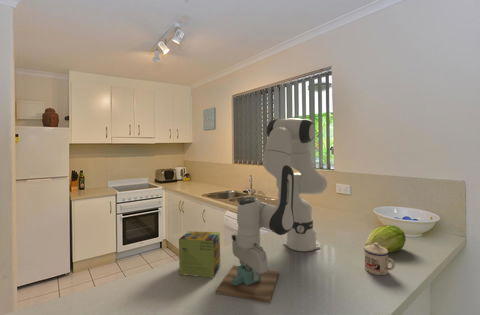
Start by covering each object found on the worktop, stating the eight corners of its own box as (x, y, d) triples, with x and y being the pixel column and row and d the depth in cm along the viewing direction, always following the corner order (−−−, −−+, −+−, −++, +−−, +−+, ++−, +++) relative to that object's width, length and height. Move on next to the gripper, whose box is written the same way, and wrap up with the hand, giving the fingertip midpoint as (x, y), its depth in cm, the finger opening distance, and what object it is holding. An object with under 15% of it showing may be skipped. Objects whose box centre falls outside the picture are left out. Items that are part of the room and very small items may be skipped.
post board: (233, 267, 110) (233, 251, 110) (279, 274, 104) (278, 257, 104) (215, 293, 91) (215, 274, 91) (270, 302, 85) (269, 282, 85)
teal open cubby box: (250, 273, 102) (250, 262, 102) (261, 280, 97) (260, 268, 97) (229, 281, 96) (229, 269, 96) (238, 288, 91) (238, 276, 91)
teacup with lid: (359, 268, 107) (359, 242, 107) (372, 263, 112) (372, 237, 112) (388, 281, 97) (388, 251, 97) (400, 275, 102) (400, 246, 101)
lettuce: (352, 236, 129) (370, 229, 118) (382, 226, 137) (401, 218, 126) (365, 262, 124) (385, 257, 113) (396, 250, 132) (417, 244, 121)
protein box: (214, 278, 102) (213, 240, 101) (179, 275, 105) (178, 238, 104) (221, 266, 112) (220, 232, 112) (188, 263, 115) (187, 230, 114)
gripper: (271, 247, 90) (272, 284, 90) (242, 231, 107) (242, 262, 108) (257, 251, 87) (257, 290, 87) (229, 233, 104) (230, 266, 105)
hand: (249, 274), depth 98 cm, fingers closed on teal open cubby box, 7 cm apart
